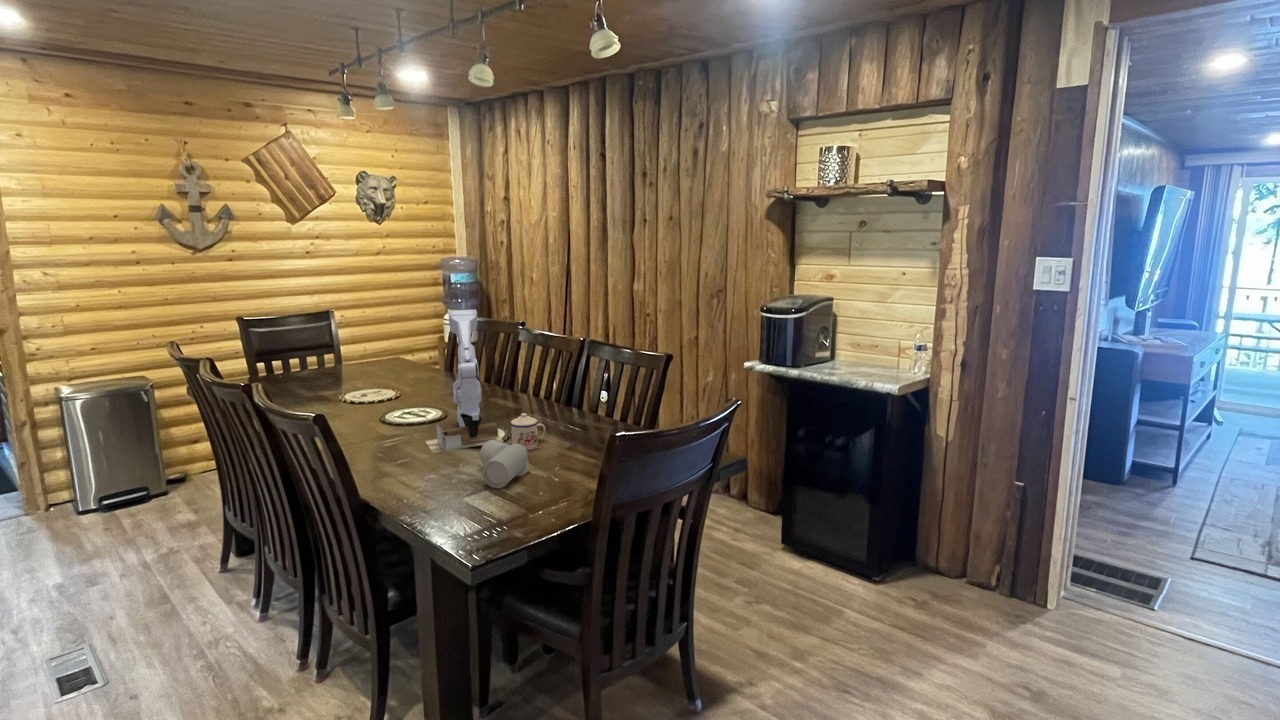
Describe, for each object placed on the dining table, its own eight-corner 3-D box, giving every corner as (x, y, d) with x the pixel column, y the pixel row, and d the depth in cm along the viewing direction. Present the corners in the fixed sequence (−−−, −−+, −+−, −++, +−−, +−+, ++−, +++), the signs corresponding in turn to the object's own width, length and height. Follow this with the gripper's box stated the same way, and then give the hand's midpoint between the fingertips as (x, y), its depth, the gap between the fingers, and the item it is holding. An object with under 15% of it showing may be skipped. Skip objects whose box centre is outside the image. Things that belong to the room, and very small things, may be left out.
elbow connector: (548, 471, 211) (507, 456, 224) (540, 440, 207) (500, 427, 220) (502, 500, 199) (462, 483, 212) (493, 469, 195) (453, 453, 208)
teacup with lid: (517, 452, 231) (515, 419, 228) (507, 445, 238) (506, 412, 236) (550, 446, 236) (549, 413, 234) (540, 439, 244) (539, 407, 242)
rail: (445, 440, 235) (445, 429, 234) (495, 433, 243) (494, 422, 242) (448, 443, 232) (447, 432, 231) (498, 436, 240) (497, 425, 239)
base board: (425, 443, 241) (424, 440, 240) (493, 433, 251) (493, 430, 251) (433, 455, 228) (432, 452, 228) (504, 444, 239) (504, 441, 239)
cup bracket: (437, 444, 236) (436, 424, 235) (456, 441, 239) (455, 421, 238) (442, 451, 229) (441, 430, 228) (461, 448, 232) (460, 428, 231)
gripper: (453, 393, 239) (455, 431, 242) (462, 403, 226) (465, 443, 229) (473, 391, 242) (475, 428, 245) (484, 400, 229) (486, 439, 232)
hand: (472, 435), depth 237 cm, fingers closed on rail, 3 cm apart
